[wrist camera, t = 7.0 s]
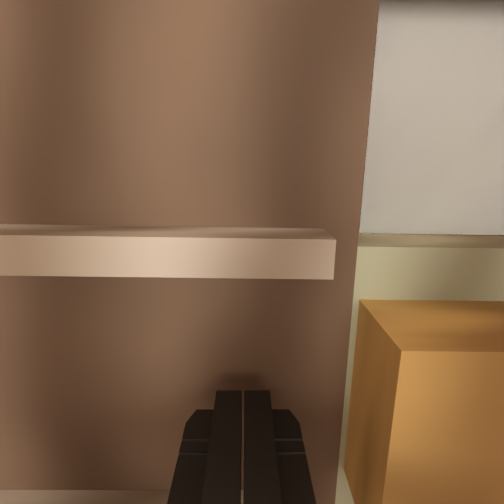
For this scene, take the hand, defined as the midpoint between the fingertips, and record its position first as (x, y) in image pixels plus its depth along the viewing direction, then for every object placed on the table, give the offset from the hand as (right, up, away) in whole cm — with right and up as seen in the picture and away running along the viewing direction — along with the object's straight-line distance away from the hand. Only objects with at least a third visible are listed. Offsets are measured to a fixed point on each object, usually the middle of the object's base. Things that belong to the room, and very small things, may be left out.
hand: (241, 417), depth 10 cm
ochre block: (+6, 0, +1) cm, 6 cm away
